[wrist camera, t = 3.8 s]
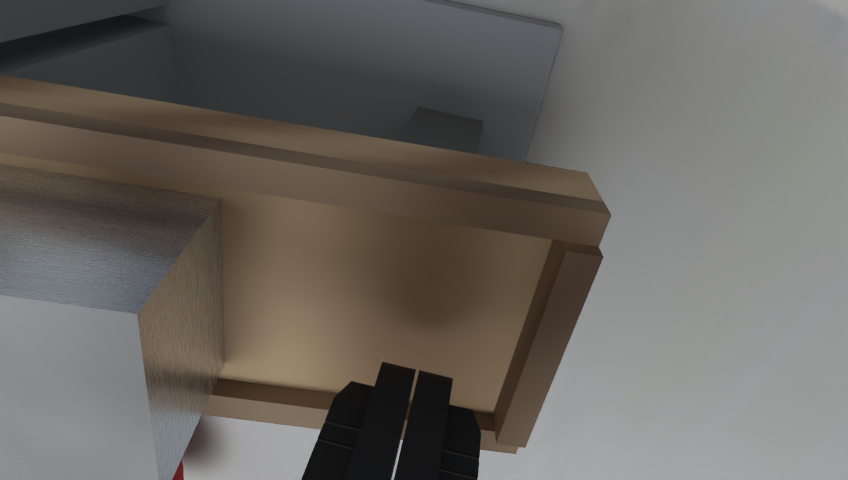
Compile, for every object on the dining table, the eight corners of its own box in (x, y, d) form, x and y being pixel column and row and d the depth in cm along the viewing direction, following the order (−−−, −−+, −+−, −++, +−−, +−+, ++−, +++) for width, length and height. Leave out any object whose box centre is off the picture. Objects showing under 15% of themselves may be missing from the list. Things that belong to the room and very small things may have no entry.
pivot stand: (569, -8, 18) (617, 66, 9) (476, 316, 26) (449, 545, 16) (-256, -178, 20) (-969, -270, 10) (-122, 174, 27) (-469, 309, 17)
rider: (221, 198, 12) (136, 314, 9) (225, 363, 15) (161, 502, 11) (-67, 153, 12) (-275, 256, 8) (-10, 331, 14) (-151, 466, 11)
